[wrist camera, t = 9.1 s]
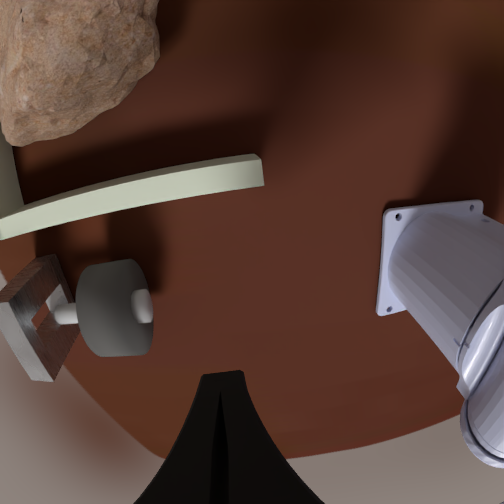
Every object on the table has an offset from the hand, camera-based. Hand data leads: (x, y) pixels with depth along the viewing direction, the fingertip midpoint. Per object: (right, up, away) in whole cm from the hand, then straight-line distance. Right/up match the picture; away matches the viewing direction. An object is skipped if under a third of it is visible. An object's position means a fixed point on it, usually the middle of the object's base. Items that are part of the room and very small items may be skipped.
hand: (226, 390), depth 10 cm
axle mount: (-13, +2, +8) cm, 15 cm away
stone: (-10, +16, +2) cm, 19 cm away
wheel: (-8, +3, +8) cm, 11 cm away
